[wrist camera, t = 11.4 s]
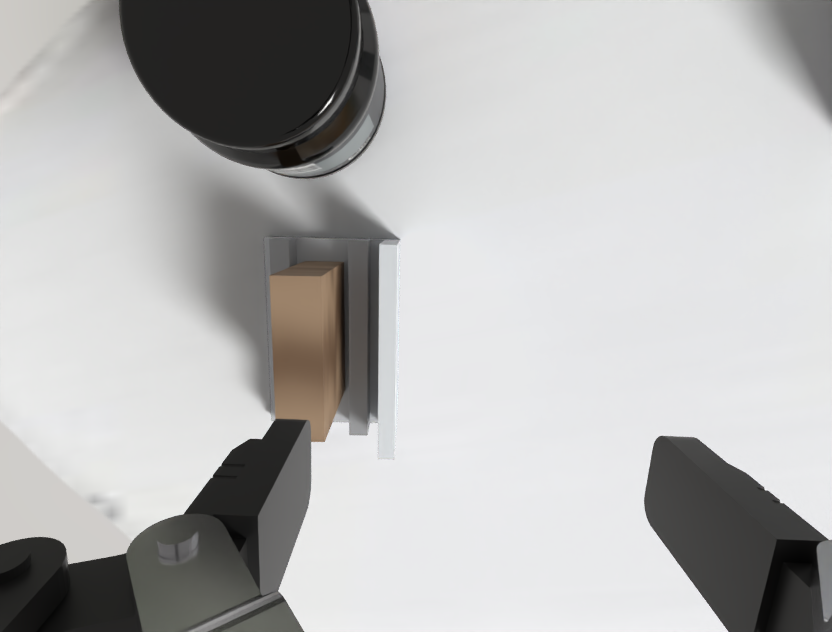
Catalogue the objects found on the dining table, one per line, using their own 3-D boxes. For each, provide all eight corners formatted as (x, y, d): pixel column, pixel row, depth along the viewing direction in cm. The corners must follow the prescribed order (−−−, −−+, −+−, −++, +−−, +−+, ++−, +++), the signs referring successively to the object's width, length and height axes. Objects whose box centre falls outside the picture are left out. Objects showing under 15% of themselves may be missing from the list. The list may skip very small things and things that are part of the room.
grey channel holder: (267, 236, 32) (234, 240, 26) (400, 239, 32) (397, 244, 26) (274, 416, 35) (246, 456, 29) (397, 418, 35) (394, 459, 29)
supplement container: (310, -36, 29) (240, -208, 17) (421, 107, 31) (426, 38, 19) (188, 84, 30) (45, 1, 18) (301, 214, 32) (235, 213, 20)
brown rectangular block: (304, 261, 32) (269, 275, 24) (343, 261, 32) (321, 276, 24) (308, 388, 34) (276, 441, 26) (345, 389, 34) (324, 442, 26)
